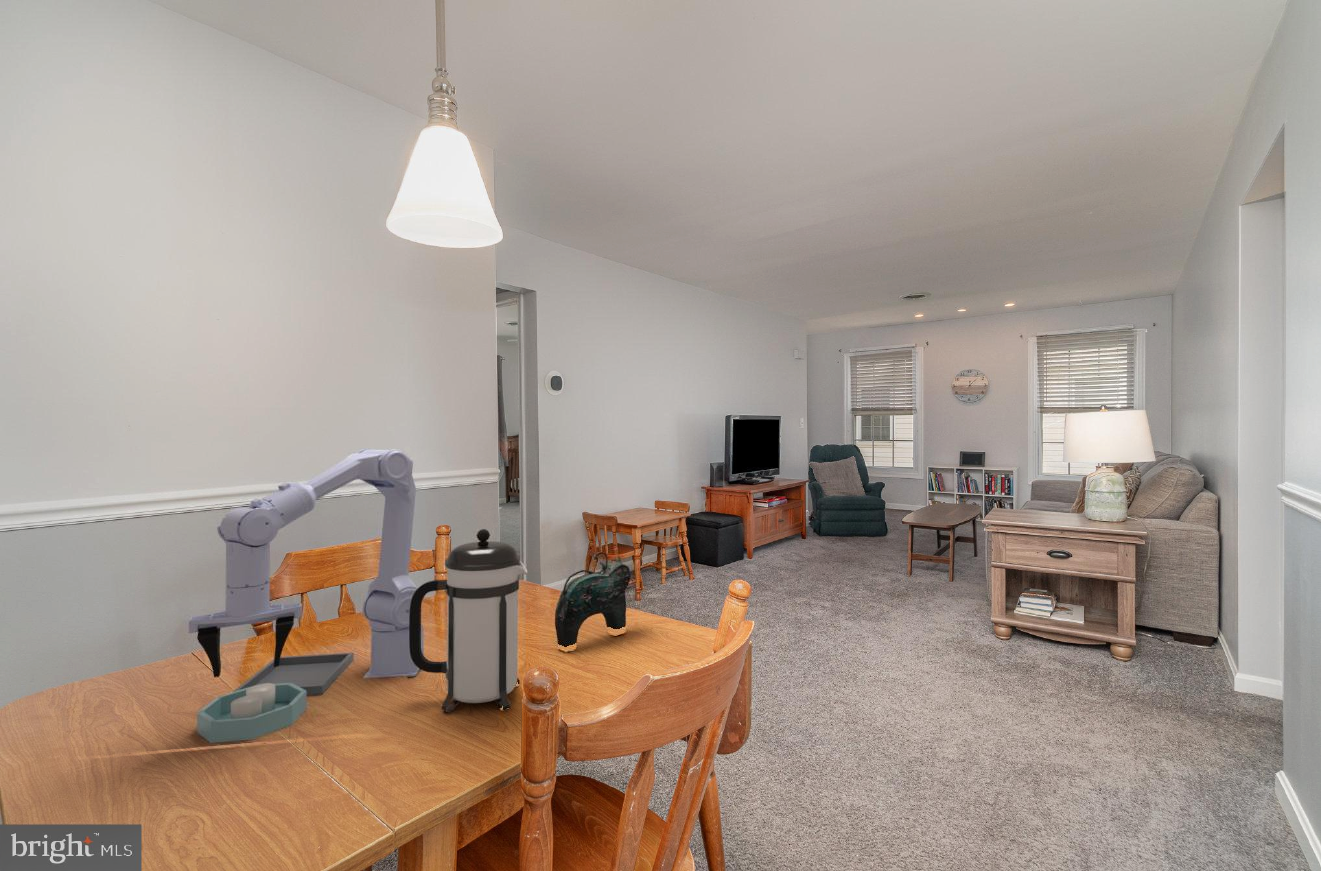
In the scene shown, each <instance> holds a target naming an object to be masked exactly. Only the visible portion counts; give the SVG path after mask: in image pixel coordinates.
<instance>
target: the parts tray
mask: <svg viewBox="0 0 1321 871" xmlns="http://www.w3.org/2000/svg"><path fill="white" fill-rule="evenodd" d="M354 654H355V653H354V652H340V653H338V652H337V653H324V654H307V655H291V656H290V655H287V656H281V657H280V662H279V666H277V667H274V658H273V659H272V660H271V661H270V662H268V663H267V664H266V665H264V666H263V667H262V668H260V669H259V670H258V671H257V672H255V674H253V675H252V676H251V677H249V678H248V679H247V680H246V681H244V682H243V683H241V684H240V685H239V686H238V687H237V688H235V689H233V691H232V692H235V691H238V690H242V689H245V688H248V687H252V686H255V685H259V684H265V683H272V684H281V683H293V684H295V685H297V686H298V687H300V688H302V689H304V690H306V691H307V696H320V695H323V694H324V693H326V691H327V690H328V689H329V688H330V687H331V686H332V685H333V684H334V682H335V681H336V680H337V679H338V678H339V677H340V676H341V675H342V673H343V672H345V671H346V669H347V668H348V667H349V666H350V665H351V663H352V662H354V657H355V656H354Z"/></svg>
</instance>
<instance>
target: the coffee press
mask: <svg viewBox="0 0 1321 871" xmlns="http://www.w3.org/2000/svg"><path fill="white" fill-rule="evenodd" d="M475 536H476V538H477V540H478V541H475V542H468V543H463V544H461V545H458V546H456V547H454V548H453V549H452V550H451V551H450V552H449V554H448V556H447V558H446V559H444V567H445V569H446V580H439V579H433V580H429V581H426V582H425V583H423V584H421V585H420V586H419V587H417V590H416V591H415V593H414V594H413V597H412V599H411V603H410V613H409V649H410V656H411V659H412V661H413V663H414V664H415V665H416V666H417V667H418V668H419V670H421V671H423V672H427V673H433V674H434V673H435V674H445V679H446V691H447V695H446V697H445V699H444V701H443V702H442V704H441V710H442V711H443V712H445V713H446V714H450V712H451V713H452V712H453V711H454V709H455V708H456V706H458V704H460V703H466V704H479V703H480V704H481V703H488V702H492V701H494V702H495V703H496V705H497V707H498V709H499V708H502V706H503V710H505V711H507V710H508V709H507V708H509V709H511V702H510V700H509V699H510V698H509V696H508V694H510V693H511V692H512V691H513V690H514V689H515V686H516V684H517V682H518V684H519V685H520V684H521V681H520V679H519V677H518V652H519V651H518V650H519V649H518V646H519V645H518V644H519V642H518V637H519V635H518V634H519V632H518V631H519V630H518V628H519V627H518V626H519V625H518V624H519V623H518V622H519V621H518V620H519V616H518V615H519V611H518V610H519V609H518V608H519V605H518V604H519V600H518V598H519V589H520V577H519V575H527V574H528V570H527V567H526V566H525V565H524V563H523V562H522V561H521V555H519V554H518V551H517V549H516V548H515V547H514V546H513V545H511V544H509V543H506V542H502V541H492V540H491V541H488V540H489V539H490V536H491V534H490V531H488V530H487V529H485V528H483V529H482V528H481V529H480V530H478V531H477V534H476V535H475ZM443 590H444V591H445V594H446V661H434V660H433V661H432V660H429V659H428V658H426V656H425V654H424V655H423V654H422V651H421V625H422V604H423V600H424V598H425V596H426V595H427V594H429V593H431V592H438V591H443ZM452 699H453V701H452V702H451V700H452ZM450 702H451V703H450ZM449 704H450V705H449ZM506 709H507V710H506Z"/></svg>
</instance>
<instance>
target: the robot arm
mask: <svg viewBox="0 0 1321 871" xmlns="http://www.w3.org/2000/svg"><path fill="white" fill-rule="evenodd" d="M413 466H414V461H413V460H412V459H411V458H410V456H408V455H407V453H405V451H403V450H401V449H398V448H397V449H396V448H394V449H393V448H391V449H372V448H363V449H361V450H358V451H357V452H356V453H355V452H353V453H352V454H349V455H348V456H347V457H346V458H345V459H343V460H341V461H340V462H338V463H336V464H334V465H333V466H331V467H330V468H328V469H327V470H325V471H324V472H321V473H320V474H318V475H317V476H314V477H313V478H311V479H310V480H308V481H307V482H305V483H300V482H296V481H294V482H283V483H280V484H279V485H278V486H277V488H278V489H277V490H275V491H273V492H271V493H270V494H267V495H266V496H264V497H261V498H254V499H253V500H250V505H249V506H248V507H237V508H234V509H232V510H229V512H227V513H226V514H225V515H224V517H223V518H222V520H221V522H220V525H219V526H217V528H216V529H217V533H218V536H219V537H220V539H221V540H223V541H224V543H225V610H224V611H220V612H215V613H210V614H204V615H200V616H199V615H198V616H191V617H190V618H189V620H188V634H194V633H197V637H196V639H197V641H198V643H199V644H200V646H201V648H202V649H203V651H204V652H205V654H206V656H207V657H208V660H209V662H210V666H211V669H212V673H213V678H218V677H220V676H221V672H222V670H221V669H222V662H221V661H222V659H221V651H220V650H221V629H222V628H228V627H234V626H244V625H250V624H257V623H266V622H273V621H275V630H274V631H275V645H274V646H275V647H274V648H275V649H274V656H273V657H274V658H273V659H274V667H277V666H279V662H280V657H282V653H283V650H284V646H285V644H286V641H287V640H288V637H289V634H290V633H291V631H292V629H293V626H294V622H295V619H301V618H302V616H303V611H302V610H303V609H302V608H303V605H302V603H294V604H293V603H292V604H290V603H289V604H274V605H270V604H271V603H270V600H271V599H270V598H271V597H270V596H271V595H270V594H271V589H270V587H271V586H270V585H271V580H270V578H271V577H270V576H271V571H270V570H271V563H270V562H271V542H272V541H273V540H274V539H275V537H277V535H278V532H279V530H280V529H281V530H282V529H283V528H285V527H286V526H288V525H289V524H291V523H293V522H295V521H296V520H298V519H299V518H302V517H303V516H305V515H306V514H308V513H310V512H311V511H314V510H313V509H315V504H316V501H317V500H318V499H320V498H323V497H325V496H326V495H328V494H330V493H332V492H334V491H336V490H338V489H340V488H342V487H344V486H346V485H347V484H349V483H352V482H353V481H356V480H360V481H362V482H364V483H367V484H368V485H371V486H373V487H374V488H376V489H377V491H378V492H379V493H380V494H381V495H382V496H383V497H384V508H383V518H382V528H381V530H382V531H381V539H380V540H381V542H380V552H379V560H378V561H379V562H378V563H379V564H378V573H377V577H376V578H375V579H374V580H373V581H371V583H370V584H369V585H368V591H367V594H366V597H365V599H364V601H363V604H362V613H363V616H364V618H365V619H366V620H368V621H369V624H368V626H369V627H370V668H369V669H368V671H367V672H366V673H365V675H363V679H374V678H375V679H376V678H388V677H391V678H392V677H402V676H406V677H408V678H410V677H416V676H417V675H418V673H419V671H420V669H419V668H418V667H417V666H416V665H415V664H414V663H413V661H412V659H411V656H410V649H409V613H410V603H411V599H412V597H413V594H414V593H415V591H416V590H417V589H418V587H417V585H416V584H415V583H414V582H413V581H412V579H411V578H410V576H409V572H410V570H409V569H410V559H411V547H412V538H413V536H412V535H413V525H414V515H415V501H416V500H415V499H416V484H415V480H414V477H413V468H414V467H413ZM424 635H425V633H424V627H423V624H421V651H422V654H423V655H424V656H425V654H424V652H425V651H424V650H425V648H424V645H425V644H424V640H425V639H424V638H425V637H424Z"/></svg>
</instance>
